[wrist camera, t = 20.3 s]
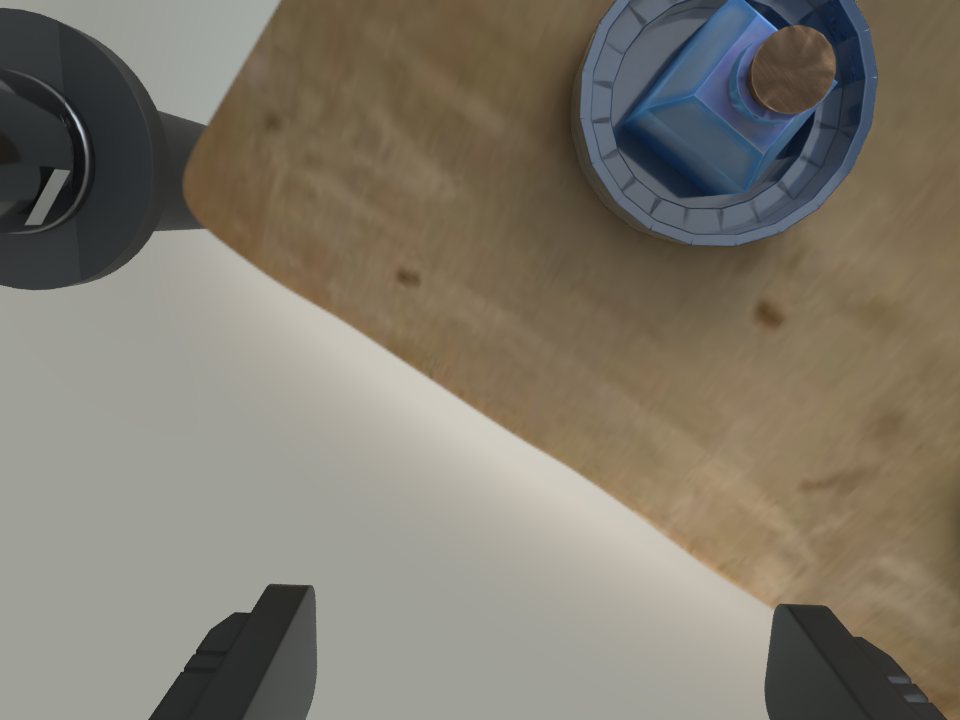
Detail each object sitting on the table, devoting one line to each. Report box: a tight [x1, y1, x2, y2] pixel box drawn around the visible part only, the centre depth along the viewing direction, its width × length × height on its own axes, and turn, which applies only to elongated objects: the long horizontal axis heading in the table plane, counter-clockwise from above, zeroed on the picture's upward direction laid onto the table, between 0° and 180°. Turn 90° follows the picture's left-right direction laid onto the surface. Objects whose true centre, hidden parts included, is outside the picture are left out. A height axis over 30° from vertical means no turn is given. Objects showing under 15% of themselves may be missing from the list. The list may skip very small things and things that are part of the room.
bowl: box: [570, 0, 878, 247], centre depth 36 cm, size 14×14×5 cm
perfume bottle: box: [622, 0, 838, 196], centre depth 32 cm, size 6×6×12 cm
